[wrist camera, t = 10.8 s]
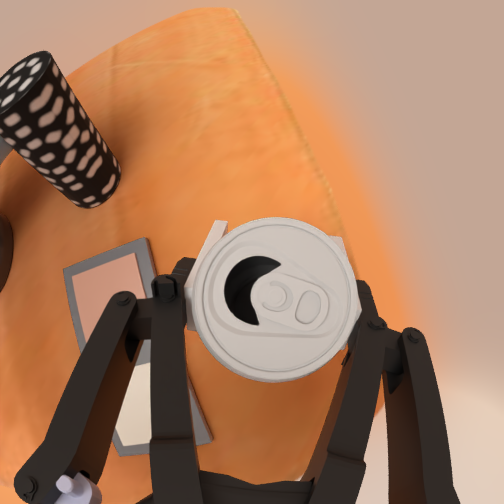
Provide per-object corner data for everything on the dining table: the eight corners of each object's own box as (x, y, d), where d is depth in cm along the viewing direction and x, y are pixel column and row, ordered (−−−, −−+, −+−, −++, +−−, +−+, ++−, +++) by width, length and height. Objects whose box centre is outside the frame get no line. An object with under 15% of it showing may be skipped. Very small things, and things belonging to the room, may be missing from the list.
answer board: (68, 270, 33) (61, 268, 31) (148, 239, 33) (143, 235, 32) (123, 453, 27) (118, 457, 26) (213, 438, 28) (211, 443, 26)
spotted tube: (117, 146, 37) (57, 39, 17) (124, 195, 35) (43, 87, 15) (68, 167, 36) (-7, 79, 16) (70, 217, 34) (-27, 135, 14)
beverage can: (239, 254, 22) (223, 183, 11) (320, 283, 22) (387, 241, 10) (209, 334, 21) (155, 349, 9) (291, 364, 21) (332, 412, 9)
